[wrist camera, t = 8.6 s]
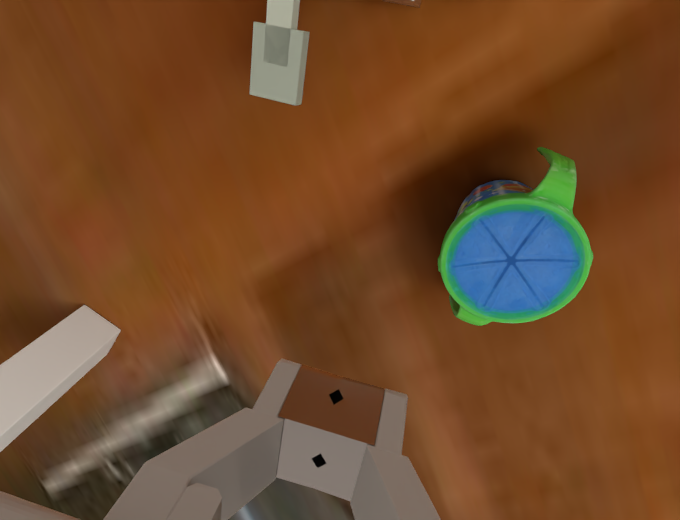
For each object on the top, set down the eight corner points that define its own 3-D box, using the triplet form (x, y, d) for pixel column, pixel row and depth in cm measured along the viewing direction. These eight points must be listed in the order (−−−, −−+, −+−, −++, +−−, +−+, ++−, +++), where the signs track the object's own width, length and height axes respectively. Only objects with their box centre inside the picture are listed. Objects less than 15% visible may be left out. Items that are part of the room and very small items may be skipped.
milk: (72, 329, 61) (-102, 460, 42) (85, 303, 58) (-96, 431, 39) (108, 354, 62) (-47, 494, 42) (122, 329, 59) (-38, 469, 39)
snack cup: (496, 302, 44) (508, 367, 36) (407, 252, 44) (397, 305, 35) (607, 174, 37) (658, 215, 28) (501, 113, 36) (518, 135, 28)
